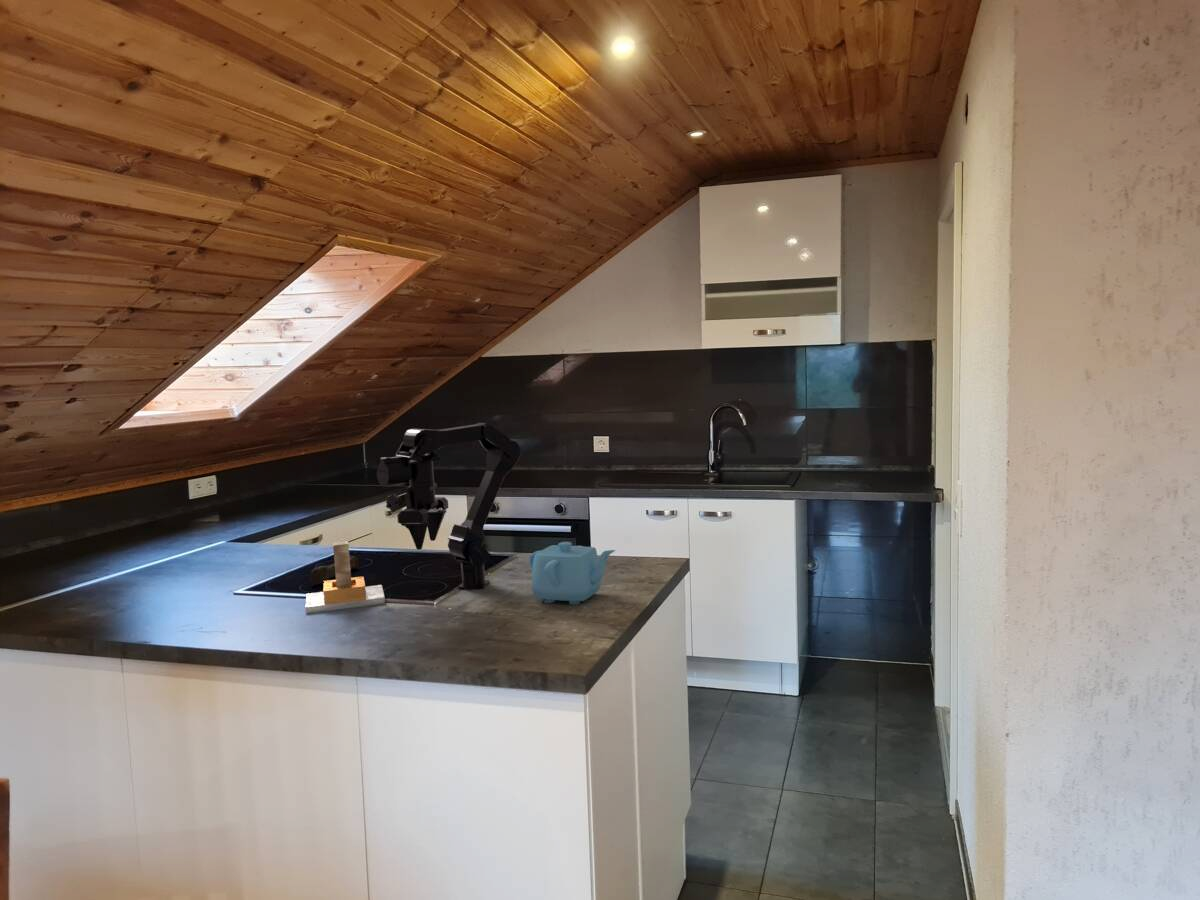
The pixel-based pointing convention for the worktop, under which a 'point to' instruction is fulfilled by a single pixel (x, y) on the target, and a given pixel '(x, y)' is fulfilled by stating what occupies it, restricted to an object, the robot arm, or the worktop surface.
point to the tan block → (342, 564)
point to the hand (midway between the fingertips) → (426, 544)
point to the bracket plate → (319, 599)
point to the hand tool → (329, 571)
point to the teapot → (567, 572)
